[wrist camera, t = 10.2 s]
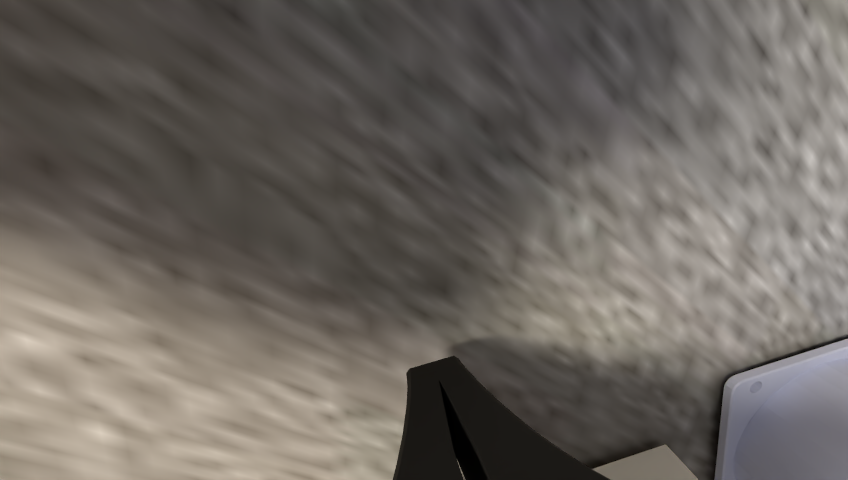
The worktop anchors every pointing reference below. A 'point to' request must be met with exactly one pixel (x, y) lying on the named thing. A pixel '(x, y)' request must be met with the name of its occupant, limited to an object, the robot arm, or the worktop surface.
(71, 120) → the worktop surface
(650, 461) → the tray
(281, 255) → the worktop surface
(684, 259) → the worktop surface
